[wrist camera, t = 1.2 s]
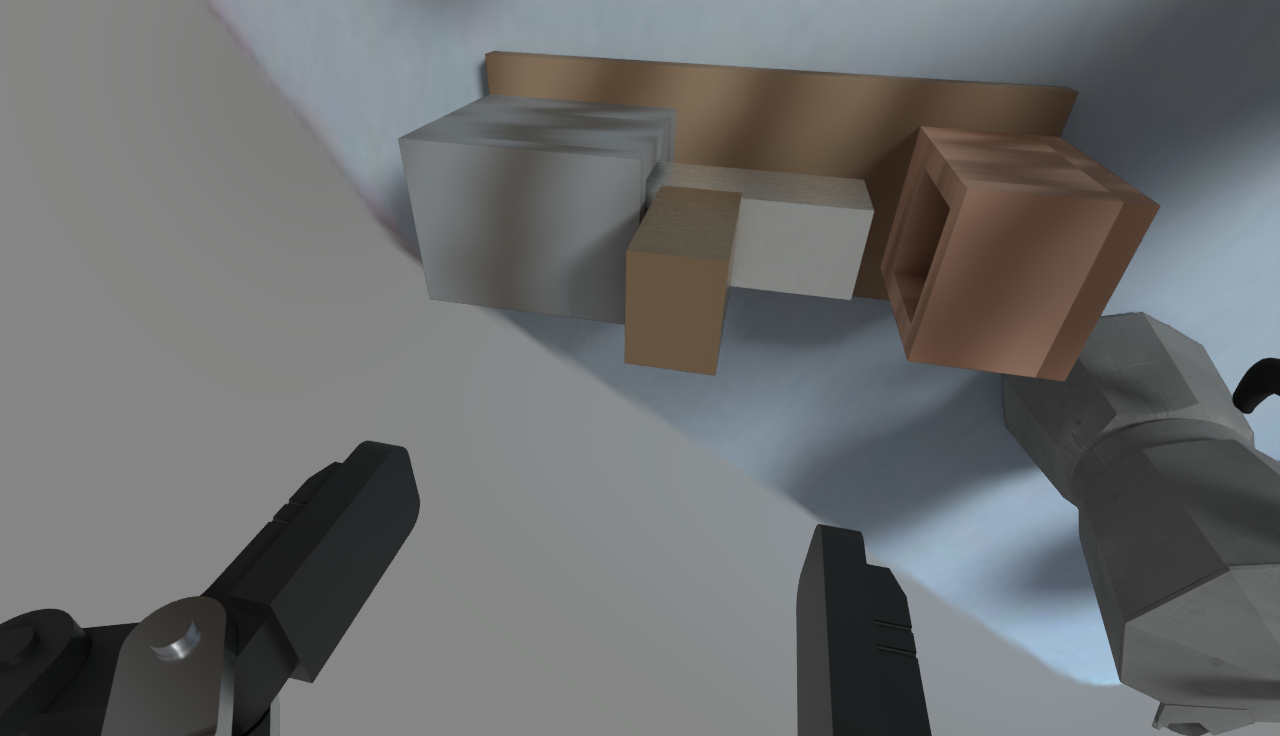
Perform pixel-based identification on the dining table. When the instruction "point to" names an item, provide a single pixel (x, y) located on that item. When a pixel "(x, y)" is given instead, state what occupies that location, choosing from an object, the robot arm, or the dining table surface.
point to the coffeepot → (1168, 515)
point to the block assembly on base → (789, 143)
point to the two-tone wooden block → (733, 252)
